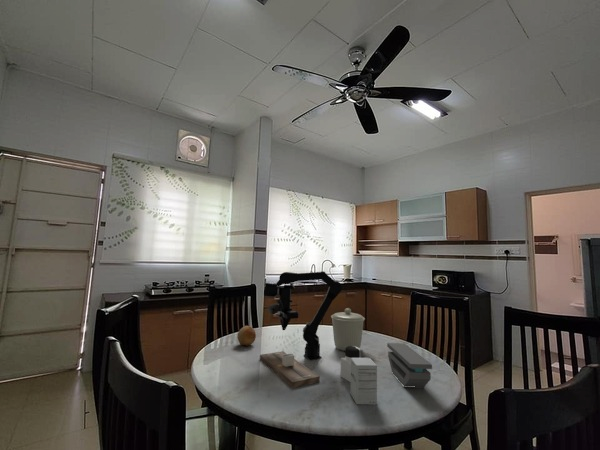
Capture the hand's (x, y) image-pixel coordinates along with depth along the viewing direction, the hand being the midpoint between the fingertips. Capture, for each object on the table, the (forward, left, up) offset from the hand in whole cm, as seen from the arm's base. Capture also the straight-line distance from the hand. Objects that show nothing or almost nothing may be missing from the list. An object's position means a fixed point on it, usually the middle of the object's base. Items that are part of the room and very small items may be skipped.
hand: (283, 330), depth 138 cm
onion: (+11, -22, -12) cm, 27 cm away
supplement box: (-6, +50, -12) cm, 52 cm away
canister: (-36, +5, -12) cm, 38 cm away
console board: (+6, +16, -12) cm, 21 cm away
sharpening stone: (-33, +47, -12) cm, 58 cm away
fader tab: (+6, +17, -10) cm, 20 cm away
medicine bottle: (-14, +35, -12) cm, 40 cm away
